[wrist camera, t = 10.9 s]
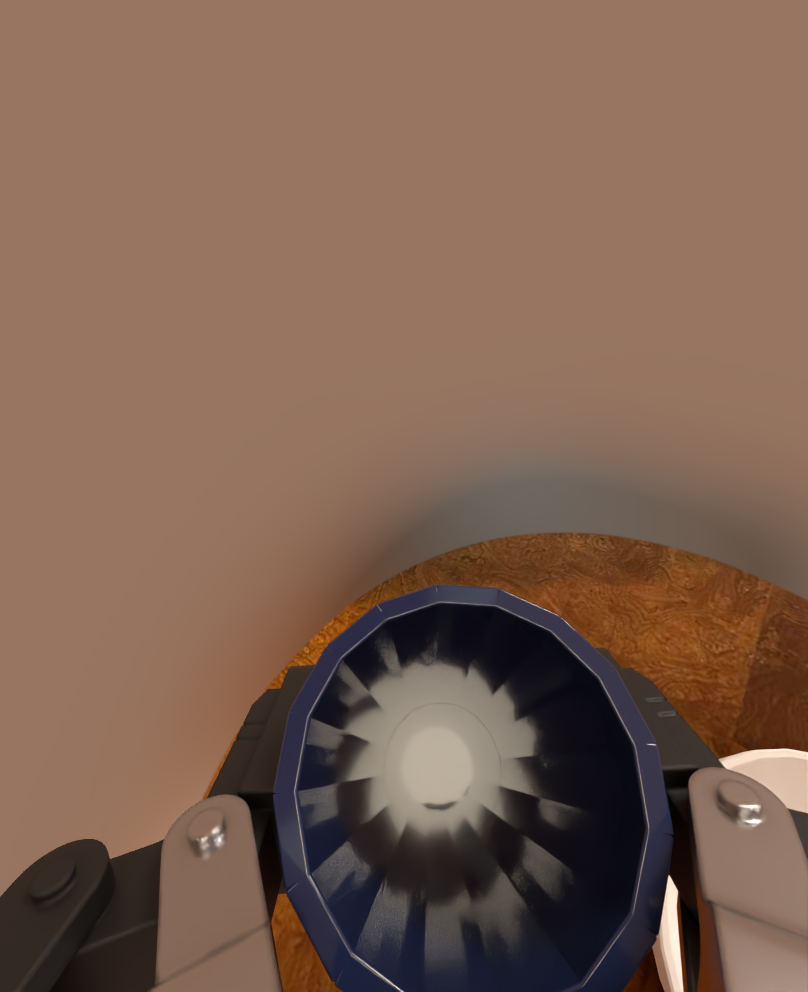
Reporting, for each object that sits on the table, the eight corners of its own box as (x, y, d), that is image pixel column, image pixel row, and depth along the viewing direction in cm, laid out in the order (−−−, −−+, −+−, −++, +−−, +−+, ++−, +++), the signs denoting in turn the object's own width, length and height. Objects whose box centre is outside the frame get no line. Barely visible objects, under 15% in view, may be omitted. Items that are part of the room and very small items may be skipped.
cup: (399, 871, 19) (318, 1160, 5) (363, 720, 22) (251, 644, 8) (529, 818, 19) (769, 944, 6) (476, 679, 22) (549, 546, 9)
